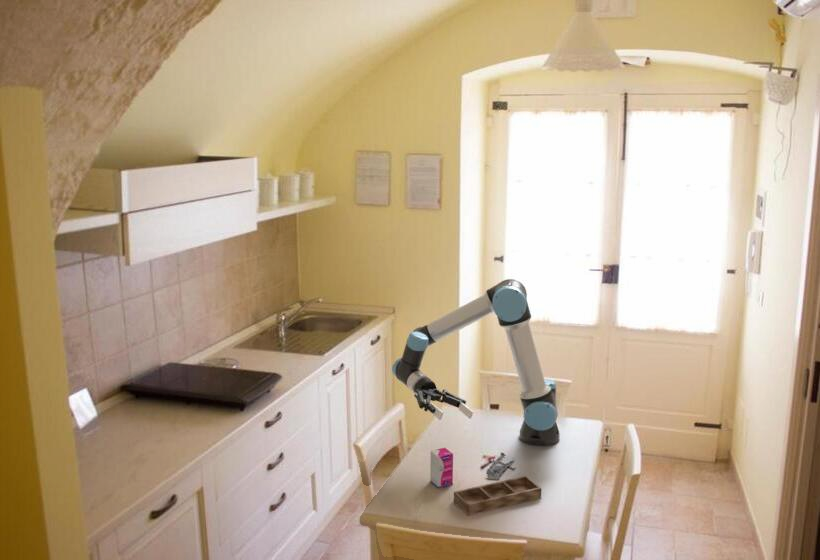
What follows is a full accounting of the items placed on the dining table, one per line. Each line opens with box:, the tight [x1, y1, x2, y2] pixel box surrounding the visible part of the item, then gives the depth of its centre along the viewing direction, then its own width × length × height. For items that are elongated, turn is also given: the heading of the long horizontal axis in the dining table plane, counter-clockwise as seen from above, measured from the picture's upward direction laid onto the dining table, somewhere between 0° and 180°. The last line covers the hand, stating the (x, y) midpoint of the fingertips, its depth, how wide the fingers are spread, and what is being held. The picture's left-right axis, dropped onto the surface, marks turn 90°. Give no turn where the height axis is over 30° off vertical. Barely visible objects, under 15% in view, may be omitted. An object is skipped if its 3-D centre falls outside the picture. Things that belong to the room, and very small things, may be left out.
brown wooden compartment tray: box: [453, 475, 542, 516], centre depth 249 cm, size 27×10×4 cm, turn 113°
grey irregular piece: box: [485, 452, 514, 481], centre depth 272 cm, size 21×7×2 cm, turn 152°
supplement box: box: [429, 447, 454, 489], centre depth 260 cm, size 6×6×12 cm
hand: (456, 415), depth 262 cm, fingers open, 13 cm apart
